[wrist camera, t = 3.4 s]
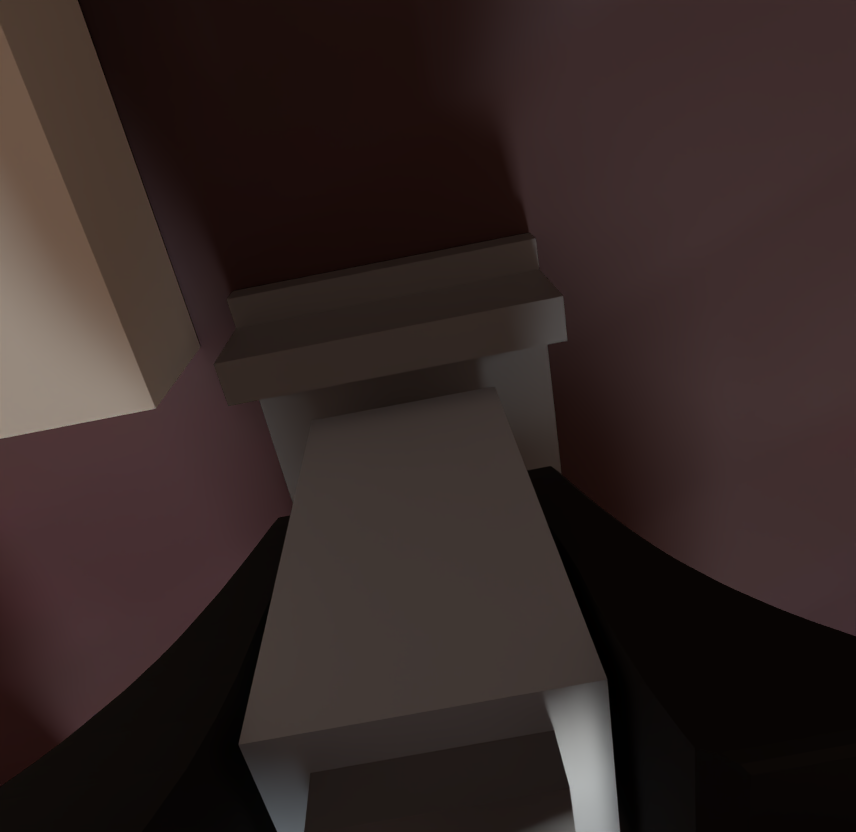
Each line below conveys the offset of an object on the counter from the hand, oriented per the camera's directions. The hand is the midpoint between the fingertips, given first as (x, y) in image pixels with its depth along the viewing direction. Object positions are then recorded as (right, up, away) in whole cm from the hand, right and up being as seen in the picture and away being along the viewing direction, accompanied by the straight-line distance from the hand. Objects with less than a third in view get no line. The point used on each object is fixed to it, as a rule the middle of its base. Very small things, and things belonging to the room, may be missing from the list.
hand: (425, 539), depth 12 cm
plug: (0, +1, +2) cm, 2 cm away
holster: (0, +2, +3) cm, 4 cm away
